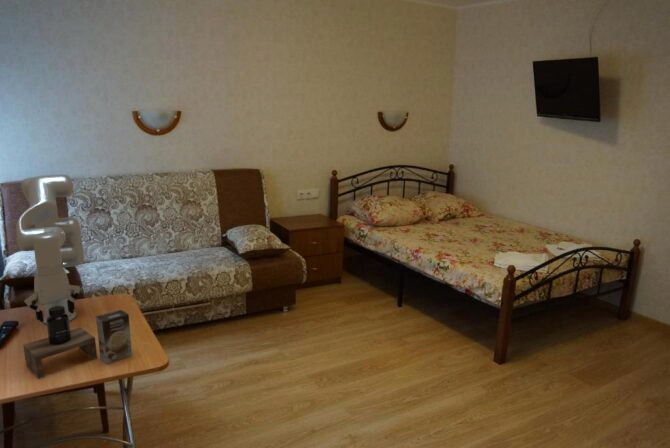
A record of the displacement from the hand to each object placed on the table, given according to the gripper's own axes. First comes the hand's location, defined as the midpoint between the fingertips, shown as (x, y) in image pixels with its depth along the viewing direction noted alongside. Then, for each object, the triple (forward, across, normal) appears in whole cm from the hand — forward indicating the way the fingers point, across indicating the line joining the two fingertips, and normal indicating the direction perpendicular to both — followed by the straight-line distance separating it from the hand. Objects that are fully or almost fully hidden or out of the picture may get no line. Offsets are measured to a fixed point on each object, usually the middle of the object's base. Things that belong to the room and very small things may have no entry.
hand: (56, 316), depth 174 cm
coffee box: (+17, -14, +11) cm, 25 cm away
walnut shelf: (+17, 0, +1) cm, 17 cm away
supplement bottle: (+9, 0, 0) cm, 9 cm away
